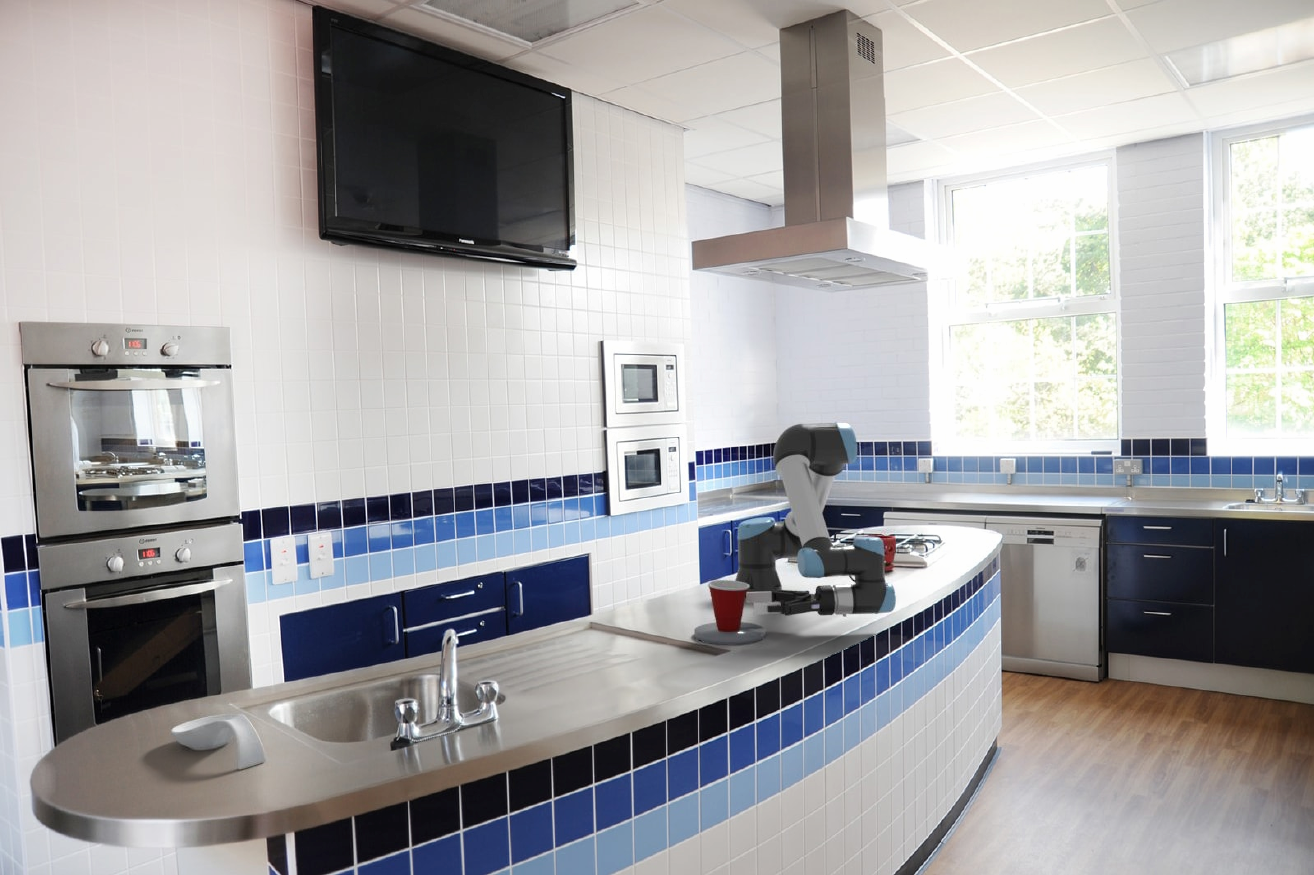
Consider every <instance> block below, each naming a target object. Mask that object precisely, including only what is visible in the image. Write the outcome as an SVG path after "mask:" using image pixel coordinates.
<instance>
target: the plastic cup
mask: <svg viewBox="0 0 1314 875" xmlns="http://www.w3.org/2000/svg"><path fill="white" fill-rule="evenodd" d="M707 587H708V588H709V593H710V597H711V603H712V609H713V614H714V620H715V623H716V625H717V628H718V630H719V631H723V632H734V631H738V630H740V626H741V622H742V618H743V614H744V606H745V600H746V598H747V597H746V593H747V590H748V588H749V587H750V586H749V584H746V583H743V582H739V581H735V580H731V579H730V580H727V579H715V580H709V581H708V582H707Z"/></svg>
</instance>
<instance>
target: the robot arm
mask: <svg viewBox="0 0 1314 875" xmlns="http://www.w3.org/2000/svg"><path fill="white" fill-rule="evenodd" d="M857 458H858V443H857V437H856V434H855V432H854V429H853V427H852V426H851V425H850V424H849V423H847V422H845V423H844V422H838V421H837V422H825V423H820V422H819V423H797V424H794V425H792V426H791V425H790V426H789V427H787V429H785V430H784V431H783V432H782V433H781V434H780V436H779V437H778V439H777V441H776V443H775V444H774V448H773V457H772V461H773V466H774V470H775V473H776V475H778V476H779V477H781V480H782V484H783V487H784V491H785V494H786V496H787V497H786V498H787V500H788V503H789V507H790V511H789V512H788V513H787V514H786V515H785V519H784V520H783V521H781V520H780V521H776V520H775V518H774V517H772V516H771V517H770V516H768V517H755V518H750V519H746V520H744V521H741V522H740V523H739V524H738V527H737V537H736V538H737V553H738V554H737V558H738V559H737V560H738V562H737V563H738V570H737V573H736V576H735V580H734V581H739V582H743V583H746V584H749V586H750V587H749V588H748V590H747V593H746V597H745V598H746V604H752V605H753V615H775V614H776V615H777V614H779V615H780V614H781V615H784V616H787V617H788V616H795V615H799V614H806V613H813V612H817V614H818V616H833V615H837V616H838V615H842V617H847V615H863V614H864V615H869V614H870V615H871V614H875V615H878V614H886V613H892V612H893V611H894V609H895V608H896V602H897V601H896V600H897V598H896V597H897V596H896V590H895V587H894V586H893V584H892V583H890V582H886V578H885V577H886V576H885V575H886V574H885V573H886V571H885V554H884V546H883V541H882V539H881V538H879V537H859V536H857V537H855V538H854V539H853V543H852V545H842V546H833V542H832V540H831V538H830V533H829V530H828V528H827V525H826V521H825V519H824V515H823V512H824V509H825V506H826V503H827V501H828V498H829V495H830V491H831V489H832V487H833V483H834V480H835V478H836V476H838V475H840V474H841V473H842V472H843V470H844V468H845V465H846V464H848V465H850V464H853V463H855V461H857ZM779 559H796V562H797V570H798V572H799V574H800V575H801V577H803V578H806V579H807V578H808V579H810V578H811V579H812V578H813V579H822V578H831V577H849V576H851V577H853V576H854V580H855V582H854V584H847V583H845V584H833V585H830V584H829V585H826V584H824V585H823V584H822V585H817V586H816V587H815V593H810V591H809V590H793V589H792V590H791V589H783V587H782V582H781V580H780V576H779V574H778V571H777V566H776V565H777V564H776V560H779Z"/></svg>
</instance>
